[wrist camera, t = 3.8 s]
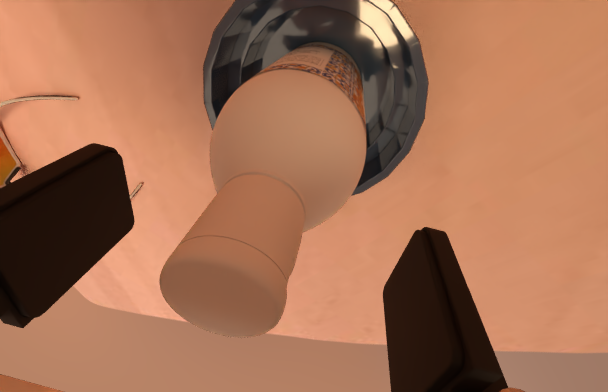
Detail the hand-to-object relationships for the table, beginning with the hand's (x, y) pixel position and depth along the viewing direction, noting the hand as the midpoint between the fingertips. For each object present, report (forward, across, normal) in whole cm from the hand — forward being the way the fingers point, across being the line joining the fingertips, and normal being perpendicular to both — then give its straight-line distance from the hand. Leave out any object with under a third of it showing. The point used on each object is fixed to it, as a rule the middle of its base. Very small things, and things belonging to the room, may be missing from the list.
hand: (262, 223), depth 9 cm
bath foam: (+17, 0, 0) cm, 17 cm away
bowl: (+17, 0, 0) cm, 17 cm away
